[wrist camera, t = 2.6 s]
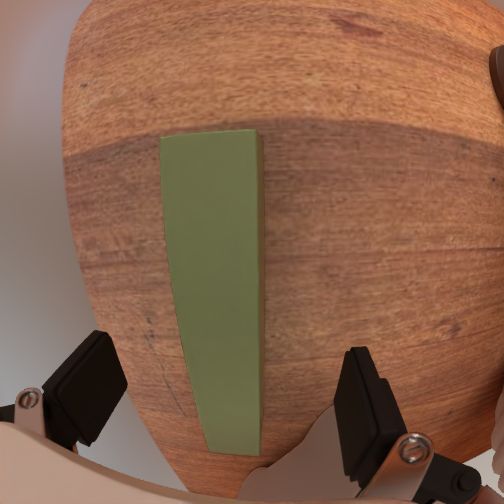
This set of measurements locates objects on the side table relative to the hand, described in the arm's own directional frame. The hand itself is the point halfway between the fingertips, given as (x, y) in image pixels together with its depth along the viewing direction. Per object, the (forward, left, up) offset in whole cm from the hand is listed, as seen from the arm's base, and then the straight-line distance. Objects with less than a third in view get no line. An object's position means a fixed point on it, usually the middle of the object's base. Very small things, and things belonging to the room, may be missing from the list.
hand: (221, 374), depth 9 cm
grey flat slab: (+14, +4, -5) cm, 15 cm away
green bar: (0, 0, -4) cm, 4 cm away
